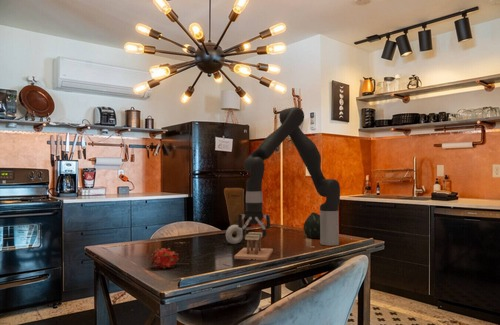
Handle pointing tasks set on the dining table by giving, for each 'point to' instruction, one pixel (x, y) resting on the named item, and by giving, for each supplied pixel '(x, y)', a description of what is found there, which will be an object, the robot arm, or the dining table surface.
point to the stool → (252, 237)
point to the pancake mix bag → (234, 205)
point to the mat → (261, 254)
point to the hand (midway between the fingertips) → (254, 237)
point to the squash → (312, 226)
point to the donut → (229, 234)
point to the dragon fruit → (164, 258)
